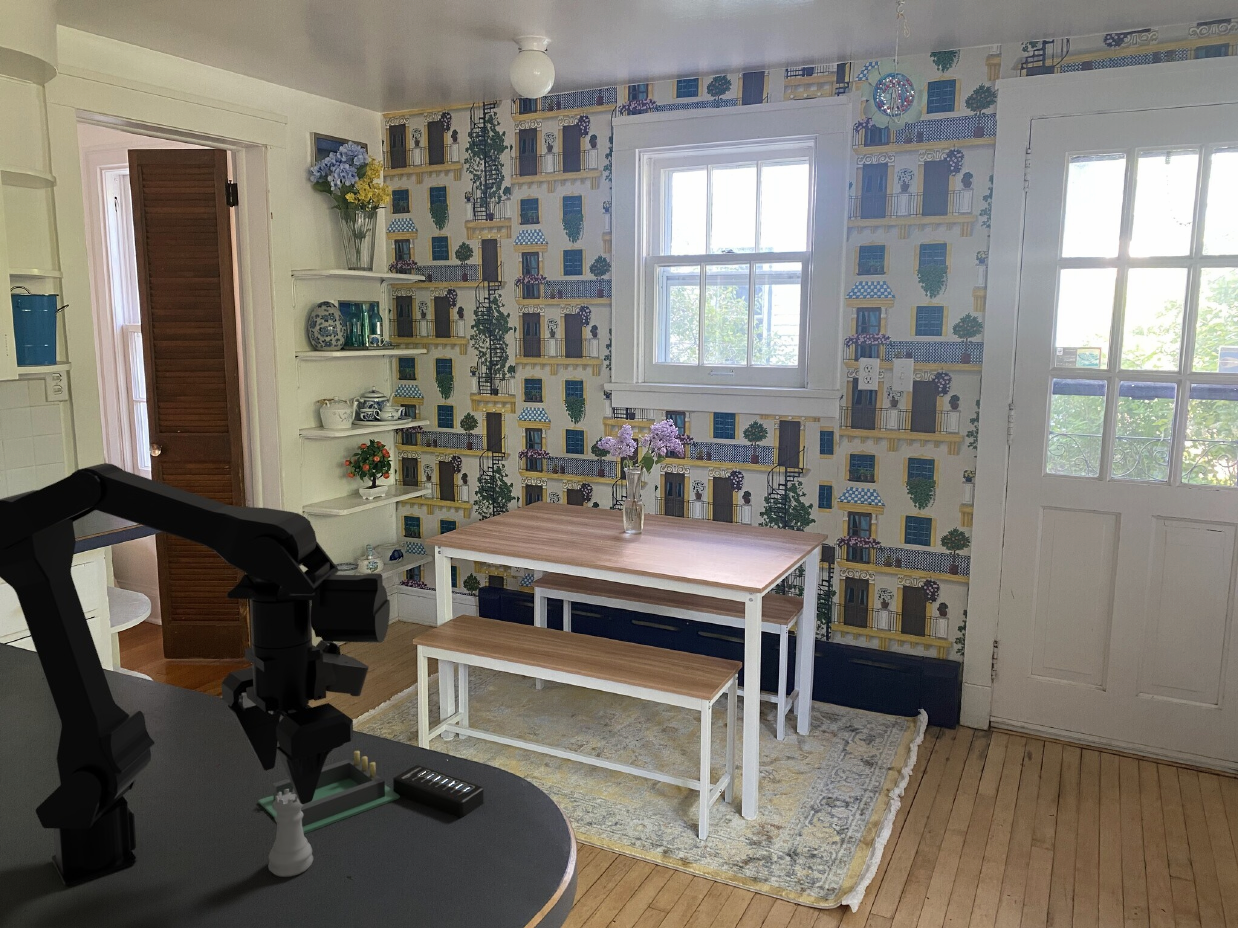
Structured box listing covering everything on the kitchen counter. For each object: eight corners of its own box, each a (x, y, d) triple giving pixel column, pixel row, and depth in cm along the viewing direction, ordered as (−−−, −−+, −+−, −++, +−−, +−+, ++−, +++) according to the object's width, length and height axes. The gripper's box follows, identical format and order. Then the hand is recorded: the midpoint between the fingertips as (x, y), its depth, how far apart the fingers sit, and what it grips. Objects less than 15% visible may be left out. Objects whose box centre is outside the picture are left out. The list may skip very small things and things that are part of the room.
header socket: (294, 837, 100) (292, 804, 99) (258, 802, 107) (257, 771, 106) (399, 797, 108) (399, 767, 108) (360, 768, 116) (359, 739, 115)
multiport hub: (460, 821, 104) (460, 802, 104) (391, 795, 110) (391, 777, 109) (485, 804, 108) (485, 786, 108) (417, 780, 113) (416, 763, 113)
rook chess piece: (258, 870, 93) (255, 798, 92) (292, 849, 97) (289, 779, 96) (289, 883, 91) (286, 809, 90) (322, 861, 95) (320, 790, 94)
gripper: (400, 646, 90) (402, 793, 92) (317, 603, 103) (321, 732, 105) (291, 673, 82) (296, 833, 84) (217, 622, 95) (223, 762, 98)
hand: (286, 785), depth 93 cm, fingers open, 9 cm apart
